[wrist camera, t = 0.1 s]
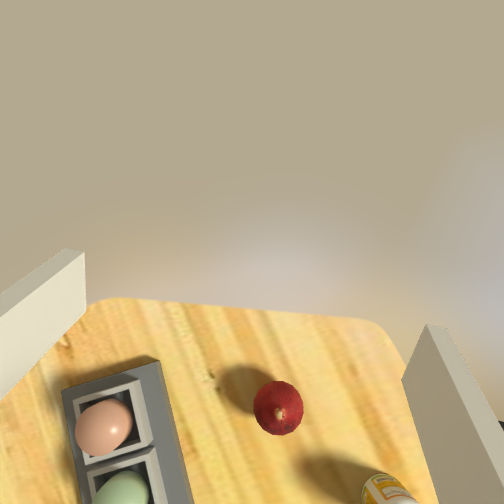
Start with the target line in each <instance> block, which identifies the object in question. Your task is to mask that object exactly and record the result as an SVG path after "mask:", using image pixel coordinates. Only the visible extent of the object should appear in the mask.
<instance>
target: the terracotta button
mask: <svg viewBox="0 0 504 504" xmlns="http://www.w3.org/2000/svg"><path fill="white" fill-rule="evenodd" d="M132 426H133V416H132V413H131V410H130V408H129V407H128V406H127V405H126V404H125V403H124V402H123V401H121V400H118V399H106V400H103V401H101V402H99V403H97V404H95V405H93V406H91V407H89V408H87V409H86V410H85V411H84V412H83V413H82V414H81V415H80V417H79V418H78V420H77V423H76V426H75V438H76V441H77V444H78V445H79V447H80V448H81V449H82V450H83V451H84V452H85V453H87V454H89V455H91V456H103V455H106V454H109V453H110V452H112V451H113V450H114V449H115V448H117V447H118V446H119V445H120V444H121V443H122V442H123V441H124V440H125V439H126V438H127V437H128V436H129V434H130V432H131V430H132Z"/></svg>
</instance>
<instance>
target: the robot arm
mask: <svg viewBox="0 0 504 504" xmlns="http://www.w3.org/2000/svg"><path fill="white" fill-rule="evenodd" d="M85 312H86V288H85V258H84V252H82V251H77V250H72V249H67V248H65V249H63V250H62V251H60V252H59V253H58V254H56V255H55V256H53V257H52V258H51V259H49V260H48V261H46V262H45V263H43V264H42V265H40V266H39V267H38V268H36V269H35V270H33V271H32V272H31V273H29V274H28V275H26V276H25V277H23V278H22V279H20V280H19V281H18V282H16V283H15V284H13V285H12V286H10V287H9V288H8V289H6V290H5V291H3V292H2V293H1V294H0V401H1V400H2V399H3V398H4V397H5V396H6V395H7V394H8V392H9V391H10V390H11V389H12V388H13V387H14V386H15V385H16V384H17V383H18V382H19V381H20V380H21V379H22V378H23V377H24V376H25V375H26V374H27V373H28V372H29V370H30V369H31V368H32V367H33V366H34V365H35V364H36V363H37V362H38V361H39V360H40V359H41V358H42V357H43V356H44V355H45V354H46V353H47V352H48V351H49V349H50V348H51V347H52V346H53V345H54V344H55V343H56V342H57V341H58V340H59V339H60V338H61V337H62V336H63V335H64V334H65V333H66V332H67V331H68V330H69V328H70V327H71V326H72V325H73V324H74V323H75V322H76V321H77V320H78V319H79V318H80V317H81V316H82V315H83V314H84V313H85ZM401 381H402V384H403V387H404V390H405V394H406V397H407V400H408V403H409V407H410V410H411V413H412V417H413V420H414V423H415V426H416V430H417V433H418V436H419V439H420V443H421V446H422V449H423V452H424V456H425V459H426V462H427V465H428V469H429V472H430V475H431V478H432V482H433V485H434V488H435V491H436V495H437V498H438V501H439V504H504V422H502V421H498V420H497V418H496V416H495V415H494V413H493V411H492V409H491V407H490V406H489V404H488V402H487V400H486V398H485V397H484V395H483V393H482V391H481V389H480V387H479V386H478V384H477V382H476V380H475V378H474V377H473V375H472V373H471V371H470V370H469V368H468V366H467V364H466V362H465V360H464V358H463V357H462V355H461V353H460V351H459V349H458V348H457V346H456V344H455V342H454V340H453V339H452V337H451V335H450V333H449V331H448V330H447V328H442V327H438V326H433V325H428V324H426V325H425V327H424V329H423V332H422V334H421V336H420V339H419V341H418V343H417V345H416V347H415V350H414V352H413V354H412V357H411V359H410V361H409V363H408V366H407V368H406V370H405V372H404V375H403V377H402V379H401Z"/></svg>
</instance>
